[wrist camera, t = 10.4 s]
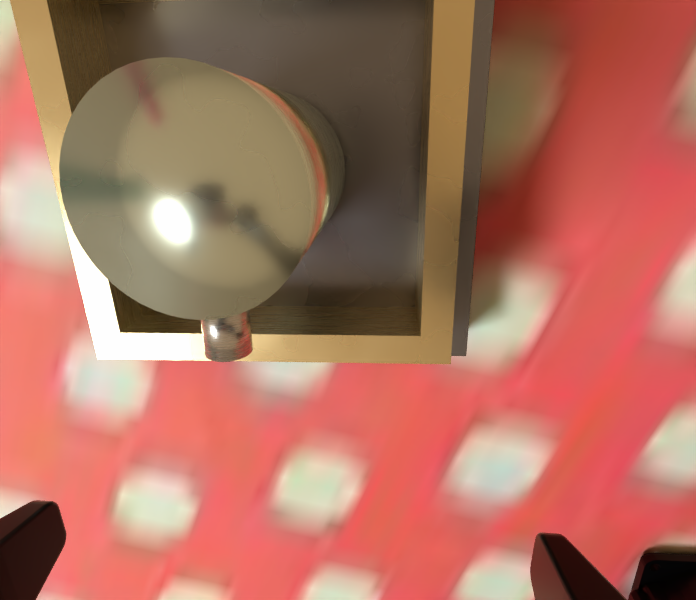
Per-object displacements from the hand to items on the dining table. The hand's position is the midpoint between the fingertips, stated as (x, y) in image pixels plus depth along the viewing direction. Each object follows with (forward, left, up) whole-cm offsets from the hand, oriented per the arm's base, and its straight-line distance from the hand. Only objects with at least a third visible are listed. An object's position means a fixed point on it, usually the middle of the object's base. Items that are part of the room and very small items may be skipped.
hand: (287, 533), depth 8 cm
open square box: (+2, -6, -12) cm, 13 cm away
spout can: (+2, -6, -9) cm, 11 cm away
